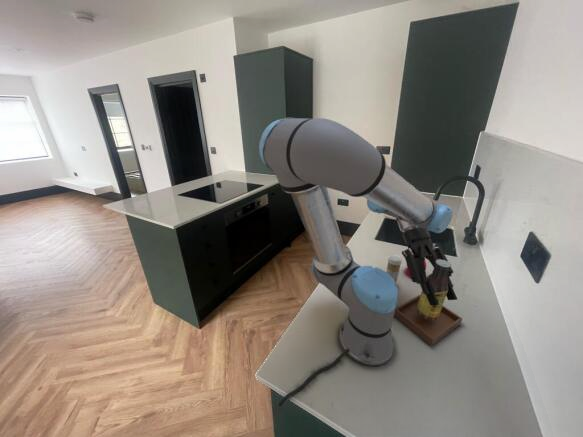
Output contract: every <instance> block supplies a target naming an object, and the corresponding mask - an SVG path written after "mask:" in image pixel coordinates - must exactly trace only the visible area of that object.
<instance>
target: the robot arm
mask: <svg viewBox="0 0 583 437" xmlns="http://www.w3.org/2000/svg"><path fill="white" fill-rule="evenodd" d="M258 153H259V156H260V157H259V158H260V160H261V161H262V163H263V164H264V165H265V166H266V168H267V169H269V170H270V171H273V172H274V175H275V177H276V179H277V182H278V183H279V186H280V188H281V190H282V191H283V192H284V193H287V194H290V195H291V198H292V200H293V203H294V206H295V208H296V210H297V212H298V215H299V217H300V221H301V222H302V225H303V228H304V230H305V232H306V234H307V237H308V240H309V242H310V246H311V247H312V249H313V251H314V255H313V258H312V260H311V261H312V263H311V264H310V269H311V273H312V275H313V277H314V278H315V279H316V281H317V282H318V283H320V284H321V285H323V286H324V287H325V288H326V289H327V290H328V291H330V293H332V294H333V295H334V296H335V297H337V299H339V301H341V302H342V303H343V304H344V305H346V307H348V313H347V317H346V318H345V319H344V321H343V323H342V324H341V327H340V329H339V343H340V346H341V348H342V349H343V351H342V353H340V355H338V356H337V357H336V359H335V360H333V361H332V362H331V363H329V364H328V365H325V366H323V367H321V368H318V369H317V370H316V371H314V372H313V373H312V374H310V376H308V378H307V379H306V380H305V381H304V382H303V383H302V384H301V385H300V386H298V387H297V388H296V389H294V390H292V391H290V392H289V393H287V394H285V395H284V396H283V397H282V399H281V400H280V401H279V402H278V407H281V406H283V404H284V403H285V402H286V401H287V400H288V399H289V398H290V397H293V396H294V395H296V394H297V393H299V392H301V391H302V390H303V389H304V388H305V387H306V386H307V385H308V384H309V383H310V381H312V379H314V378H315V377H316V376H318V375H319V374H320V373H322V372H324V371H327V370H329V369H331V368H332V367H333V366H335V365H336V364H337V363H338V362H339V361H340V360H342V358H343V357H344V356H345V355H348V356H349V357H350V358H351V359H352V360H354V361H355V362H357V363H359V364H362V365H365V366H371V367H377V366H381V365H385V364H386V363H388V362H389V360H391V358H392V356H393V353H394V348H395V343H394V337H393V334H392V324H393V320H394V317H395V316H394V312H395V308H397V307H398V306H397V305H398V301H399V299H398V297H399V288H398V284H397V283H396V282H395V280H394V279H393V278H392V277H391V276H390V275H389V274H388V273H387V272H386V271H385V270H383V269H382V268H379V267H376V266H375V267H373V266H372V265H360V264H359V263H357V262H356V261H354V257H353V254H352V251H351V249H350V247H348V246H347V245H346V244H344V242H343V238H342V235H341V231H340V228H339V225H338V222H337V218H336V216H335V214H336V213H335V212H334V208H333V204H332V200H331V198H330V194H329V191H328V189H331V190H334V191H338V192H340V193H343V194H346V195H347V196H350V197H352V198H362V197H363V198H364V199H366V205H367V208H368V209H369V211H371V212H373V213H376V214H379V215H380V214H383V215H387V216H389V217H391V218H395V219H396V221H397V226H398V228H399V230H400V232H402V234H401V235H402V238H403V240H404V243H405V244H407V249H405V250H402V251H401V254H402V256H403V258H404V260H405V263H406V267H407V266H408V267H407V268H408V269H409V272H410V276H411V277H410V276H409V277H410V278H411V281H412V283H416V284H417V285H420V288H421V292H422V291H423V293H424V294H426V296H427V299H428V301H429V304H430V305H439V303H438V301H437V298H436V296H435V293H434V291H433V288H432V286H431V283H430V282H427V270H425V263H424V260H425V261H426V260H428V262H429V263H430V264H431V266H432V267H433V268H434V266H435V265H434V264H435V261H436V260H439V259H441V260H445V261H448V262H449V260H448V258H447V256H446V254H445V252H444V250H443V246H442V244H441V243H440V242H437V243H434V242H432V240H431V241H430V239H431V238H430V237H431V234H430V232H432V233H435V234H441V233H443V232H444V231H446V229H447V228H448V227H449V225H450V224H451V221H452V218H453V210H452V208H451V207H450V206H449V205H445V204H443V203H438V202H434V201H433V200H431V199H430V198H429V197H427V196H426V195H425V194H424V193H423V192H421V191H420V190H419V189H417V188H416V187H415V186H414V185H412V183H410V182H409V181H408V180H406V179H405V178H404V177H403V176H401V175H400V174H399V173H397V172H396V171H395V170H394V169H393V168H392V167H390V166H389V165H388V164H387V161H386V160H387V159H386V157H385V156H384V154H383V153H382V152H381V151H380V150H379V149H378V148H376V147H375V146H374V145H373V144H371V143H370V142H369V141H368V140H366V139H365V138H363V136H361V135H359V134H358V133H356V132H354V131H353V130H352V129H350V128H349V127H347V126H345V125H343V124H342V123H340V122H338V121H335V120H332V119H328V118H323V117H322V118H321V117H319V118H318V117H316V118H297V117H285V118H280V119H276V120H275V121H272V122H271V123H270V124H268V125H267V126H266V128H265V129H264V130H263V132H262V134H261V137H260V140H259V145H258ZM429 238H430V239H429ZM413 256H414V257H413ZM453 274H454V270H453V268H452V267H451V269H450V270H449V272H448V275H447V276H448V277H447V282H448V292H447V294H446V298H447V301H457V300H458V297H457V294H456V292H455V290H454V288H453V287H454V285H453V282H452V280H451V278H450V277H452V276H453Z"/></svg>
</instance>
